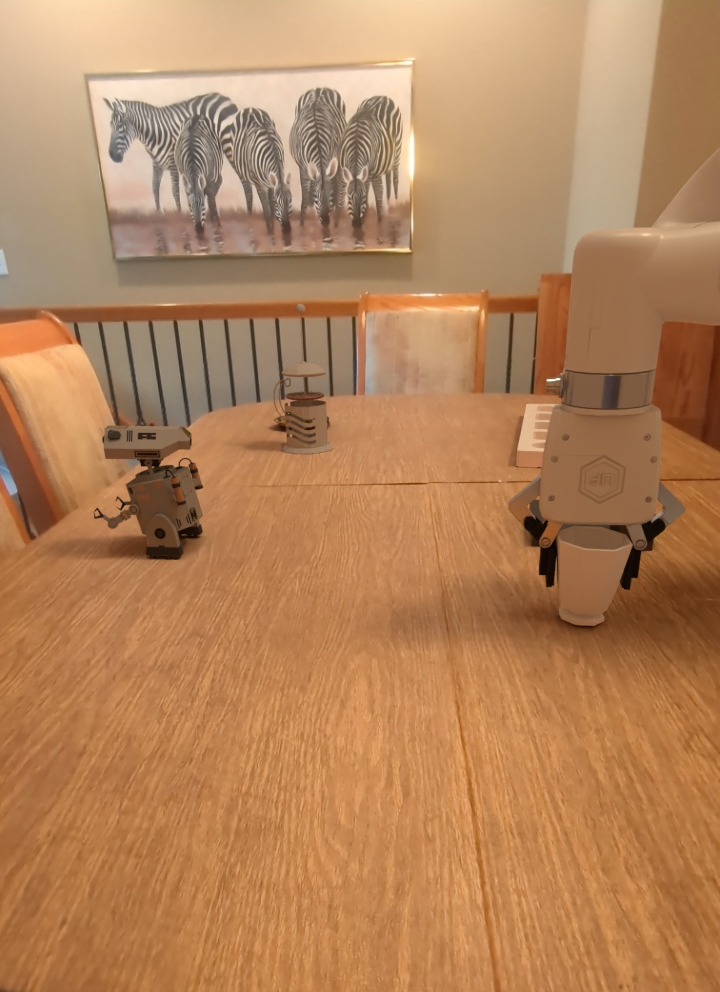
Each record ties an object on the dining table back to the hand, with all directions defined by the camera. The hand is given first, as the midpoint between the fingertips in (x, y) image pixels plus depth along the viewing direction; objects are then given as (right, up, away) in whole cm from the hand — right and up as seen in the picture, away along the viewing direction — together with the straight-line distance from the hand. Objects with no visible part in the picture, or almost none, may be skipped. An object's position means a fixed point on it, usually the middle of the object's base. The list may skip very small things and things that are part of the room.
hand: (586, 581), depth 73 cm
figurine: (-47, +6, +22) cm, 52 cm away
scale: (+7, +8, +24) cm, 26 cm away
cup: (0, -3, +2) cm, 3 cm away
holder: (+18, +33, +71) cm, 81 cm away
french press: (-33, +31, +70) cm, 83 cm away
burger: (-34, +40, +88) cm, 102 cm away
